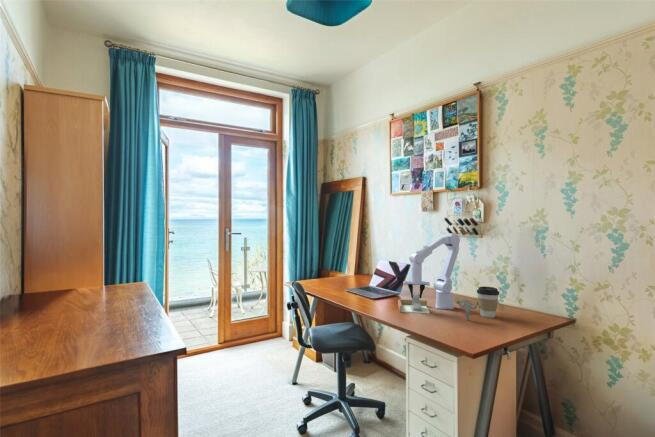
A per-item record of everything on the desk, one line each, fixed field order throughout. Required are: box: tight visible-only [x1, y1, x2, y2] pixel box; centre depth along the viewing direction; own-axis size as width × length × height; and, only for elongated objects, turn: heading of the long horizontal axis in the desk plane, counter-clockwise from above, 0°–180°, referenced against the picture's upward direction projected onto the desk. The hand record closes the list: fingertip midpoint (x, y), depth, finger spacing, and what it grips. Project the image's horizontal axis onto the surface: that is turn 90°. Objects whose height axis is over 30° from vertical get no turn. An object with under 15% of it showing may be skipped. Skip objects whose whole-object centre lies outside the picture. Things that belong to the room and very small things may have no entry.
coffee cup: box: [476, 286, 500, 319], centre depth 185 cm, size 11×11×15 cm
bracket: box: [411, 292, 421, 311], centre depth 197 cm, size 9×4×7 cm, turn 172°
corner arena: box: [397, 298, 430, 315], centre depth 198 cm, size 17×16×4 cm
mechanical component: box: [456, 299, 479, 322], centre depth 177 cm, size 3×10×10 cm, turn 79°
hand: (416, 297), depth 196 cm, fingers closed on bracket, 4 cm apart
